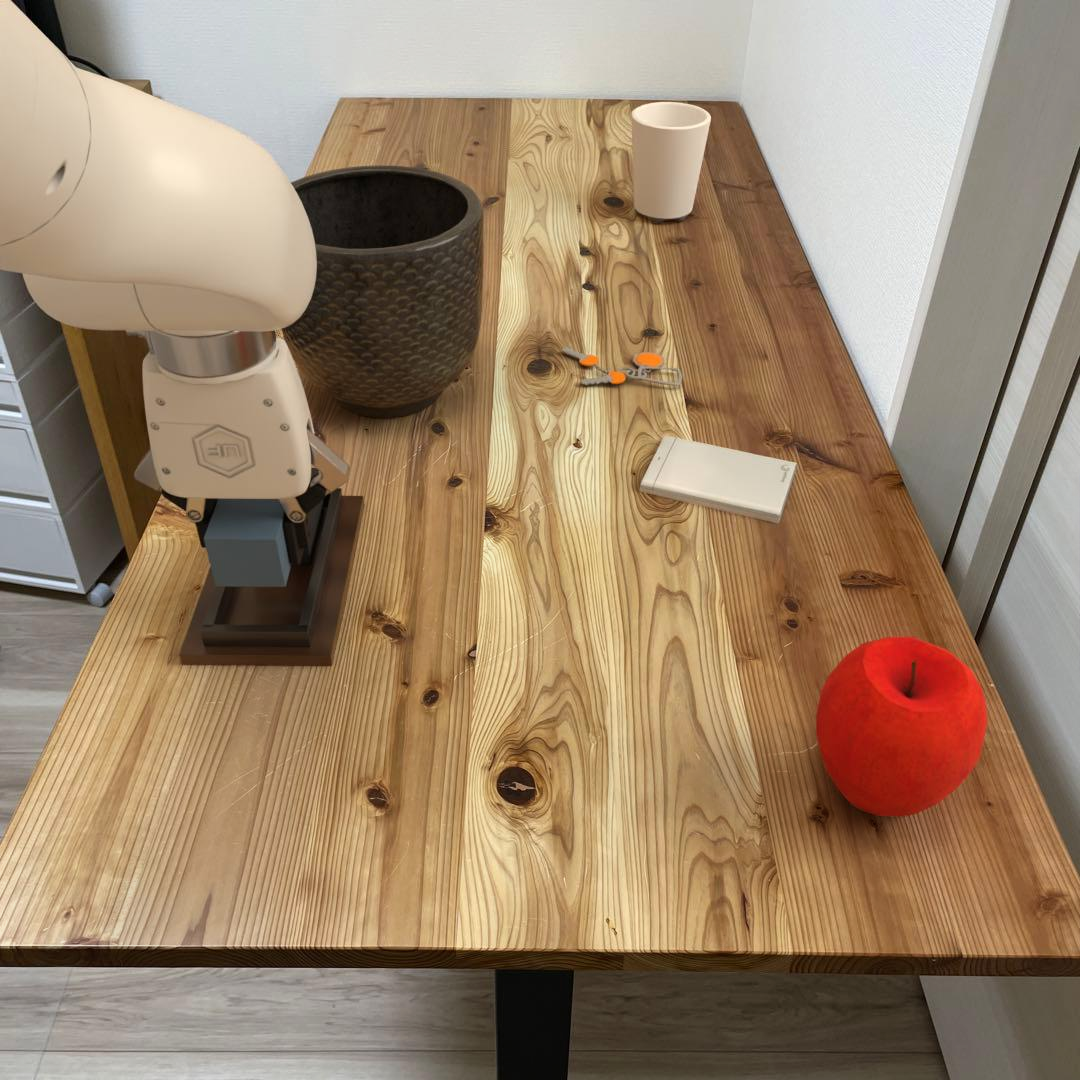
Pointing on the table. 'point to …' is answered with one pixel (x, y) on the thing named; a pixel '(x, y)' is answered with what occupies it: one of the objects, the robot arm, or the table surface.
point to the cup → (667, 158)
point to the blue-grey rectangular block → (248, 543)
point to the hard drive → (720, 478)
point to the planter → (389, 286)
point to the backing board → (282, 604)
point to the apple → (900, 725)
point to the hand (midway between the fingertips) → (259, 550)
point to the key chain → (625, 368)
